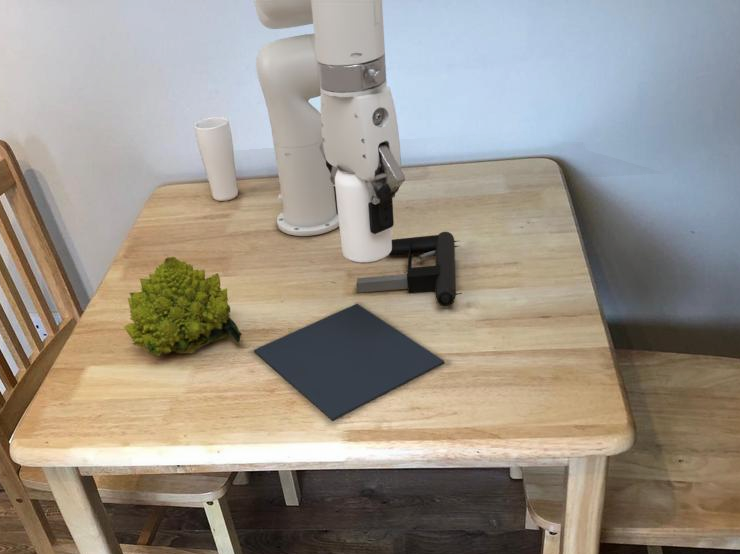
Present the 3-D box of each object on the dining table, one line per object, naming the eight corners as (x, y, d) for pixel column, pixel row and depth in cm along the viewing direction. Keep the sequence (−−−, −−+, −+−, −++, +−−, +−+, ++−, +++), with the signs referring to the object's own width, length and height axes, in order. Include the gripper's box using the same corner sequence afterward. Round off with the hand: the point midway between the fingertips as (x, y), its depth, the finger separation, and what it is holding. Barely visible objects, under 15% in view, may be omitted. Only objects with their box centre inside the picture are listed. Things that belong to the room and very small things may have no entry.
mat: (254, 352, 108) (253, 349, 108) (357, 305, 115) (356, 303, 114) (332, 421, 94) (332, 418, 93) (444, 363, 101) (444, 360, 100)
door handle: (352, 298, 112) (463, 289, 108) (362, 236, 127) (460, 226, 124) (355, 318, 113) (464, 309, 110) (365, 254, 129) (461, 245, 126)
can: (339, 245, 101) (330, 157, 94) (387, 238, 101) (382, 150, 94) (345, 268, 96) (336, 177, 89) (396, 260, 96) (391, 169, 89)
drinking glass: (240, 201, 151) (226, 126, 142) (207, 205, 151) (191, 130, 142) (243, 188, 156) (230, 115, 147) (211, 191, 157) (196, 118, 148)
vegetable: (268, 316, 107) (190, 248, 100) (196, 400, 108) (112, 338, 100) (236, 290, 120) (165, 228, 112) (172, 365, 120) (96, 308, 112)
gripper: (428, 78, 80) (432, 232, 91) (335, 53, 92) (348, 192, 103) (372, 97, 77) (383, 254, 88) (283, 69, 90) (302, 210, 100)
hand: (364, 219), depth 96 cm, fingers closed on can, 6 cm apart
